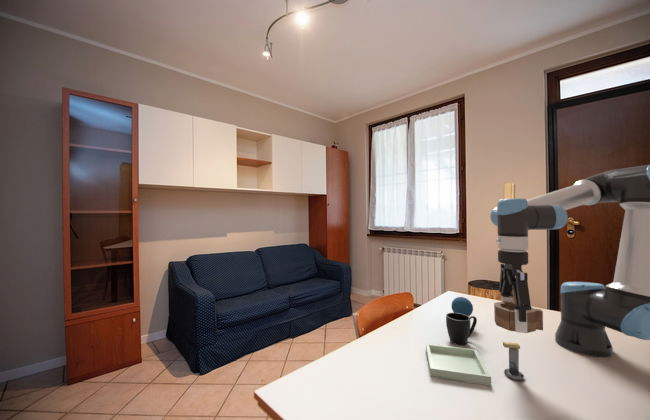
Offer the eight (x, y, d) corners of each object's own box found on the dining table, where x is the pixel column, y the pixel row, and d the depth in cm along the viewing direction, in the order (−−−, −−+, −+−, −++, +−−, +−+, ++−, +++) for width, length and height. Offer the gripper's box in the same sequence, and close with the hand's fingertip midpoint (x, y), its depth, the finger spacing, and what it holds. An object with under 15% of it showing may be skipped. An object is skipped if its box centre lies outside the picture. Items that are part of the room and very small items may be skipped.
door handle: (519, 372, 83) (519, 341, 83) (526, 382, 78) (526, 348, 78) (501, 370, 84) (500, 339, 84) (506, 379, 80) (506, 346, 80)
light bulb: (473, 323, 119) (473, 296, 119) (472, 331, 112) (472, 301, 112) (452, 319, 123) (452, 293, 124) (450, 326, 116) (450, 298, 116)
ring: (537, 323, 83) (536, 304, 83) (547, 336, 74) (547, 315, 74) (493, 317, 88) (492, 300, 88) (498, 329, 79) (497, 310, 79)
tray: (476, 356, 92) (476, 349, 92) (491, 385, 77) (491, 376, 77) (425, 350, 96) (425, 343, 96) (430, 376, 81) (430, 368, 81)
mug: (484, 344, 100) (484, 319, 100) (455, 348, 98) (455, 321, 98) (468, 335, 108) (468, 311, 108) (441, 337, 106) (441, 313, 106)
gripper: (487, 245, 93) (488, 310, 93) (512, 255, 72) (513, 340, 71) (512, 245, 91) (513, 312, 91) (546, 256, 70) (547, 343, 69)
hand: (513, 324), depth 81 cm, fingers closed on ring, 10 cm apart
